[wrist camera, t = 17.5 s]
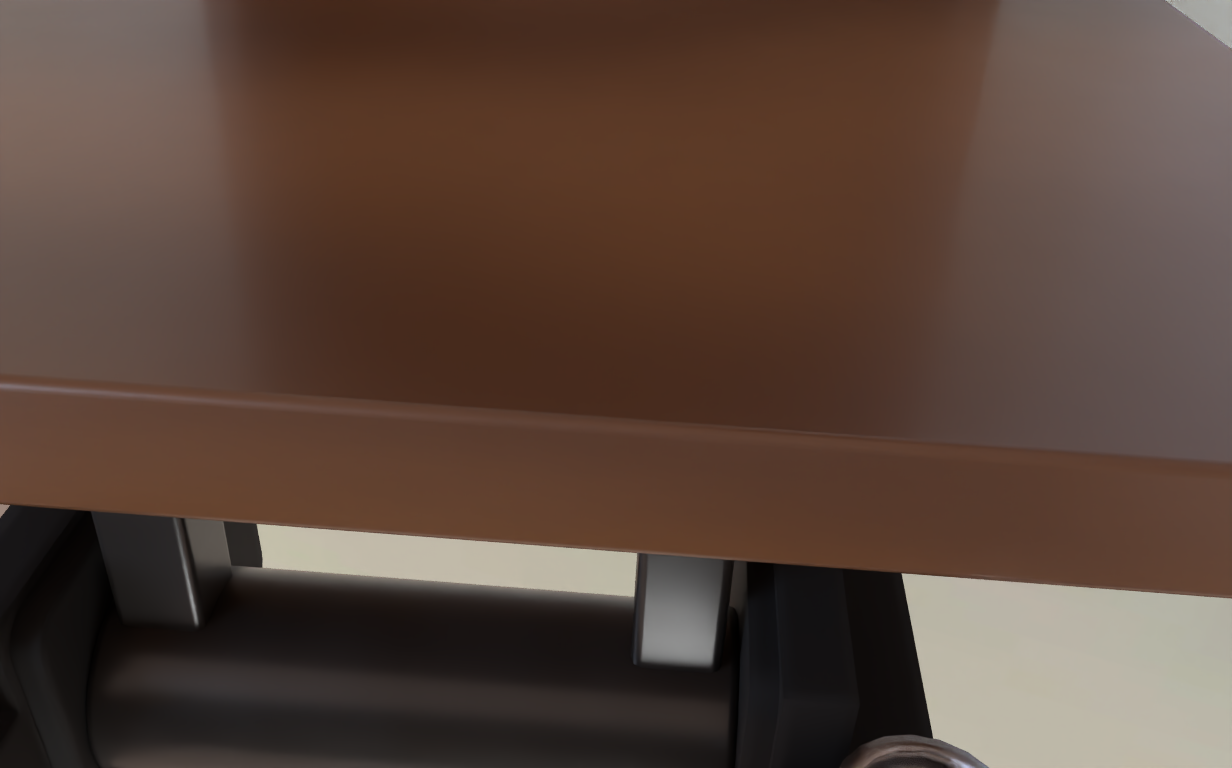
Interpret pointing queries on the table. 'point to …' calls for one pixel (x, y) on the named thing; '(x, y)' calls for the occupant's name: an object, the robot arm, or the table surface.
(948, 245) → the lid
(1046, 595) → the table surface
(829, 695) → the robot arm
